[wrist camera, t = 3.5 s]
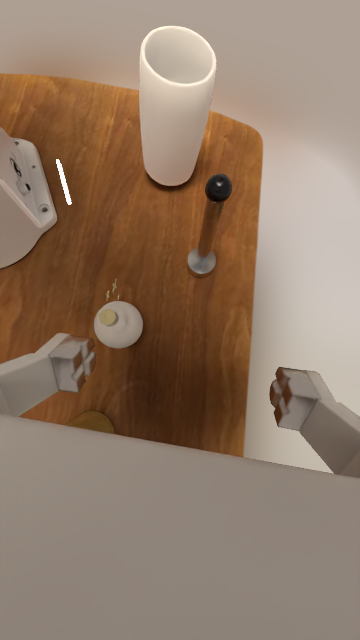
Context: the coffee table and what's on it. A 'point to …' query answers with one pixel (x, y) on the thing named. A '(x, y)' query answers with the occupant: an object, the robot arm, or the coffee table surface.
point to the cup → (174, 101)
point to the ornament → (118, 323)
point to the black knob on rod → (209, 226)
